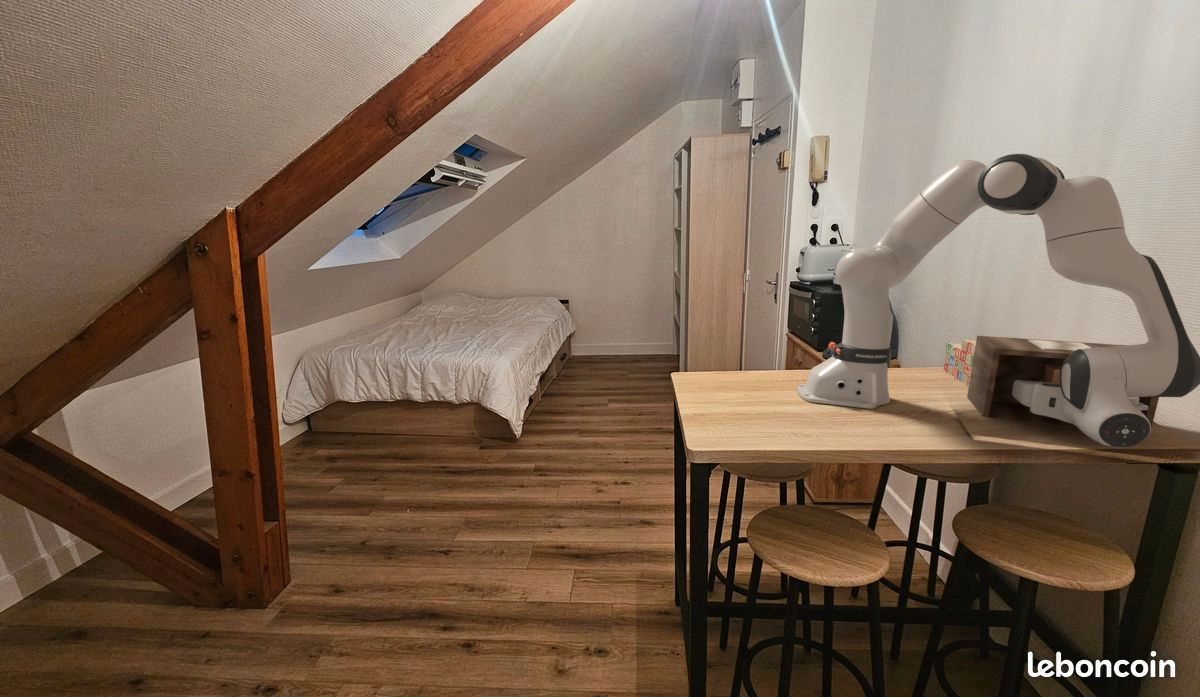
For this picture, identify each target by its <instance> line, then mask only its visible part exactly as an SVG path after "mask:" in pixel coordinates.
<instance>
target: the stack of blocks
mask: <svg viewBox="0 0 1200 697" xmlns="http://www.w3.org/2000/svg"><path fill="white" fill-rule="evenodd" d="M975 345H976V339H962V342H960V343H954V342H947V343H946V346H945V356H944V357H945V358H944V365H943V370H945V371H946V372H947V373H949V374H950V375H952V376H954V377H955V378H957V379H959V380H960V381H961V382H963V383H964V384H963V383H962V384H963V385H965V384H966V385H967V386H966V385H965V386H966V387H969V382H970V376H971V370H972V364H973V358H974V351H975ZM947 373H946V374H947ZM950 375H949V376H950ZM955 378H954V379H955ZM960 381H959V382H960ZM961 382H960V383H961Z"/></svg>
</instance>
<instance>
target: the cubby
mask: <svg viewBox="0 0 1200 697" xmlns="http://www.w3.org/2000/svg"><path fill="white" fill-rule="evenodd" d="M975 340H976V345H975V351H974V358H973V364H972V370H971V376H970V382H969V386H968V387H967V388H968V389H967V390H968V391H967V395H966V398H967V399H968V401H969V402H970V403H971V405H973V407H974V408H975V409H976V410H977V411H978V413H979V414H980V415H981V417H983V418H984V417H985V418H990V419H991V418H992V419H993V418H994V419H999V420H1000V419H1002V420H1008V421H1009V420H1010V421H1019V422H1027V423H1036V424H1037V423H1038V424H1045V425H1056V426H1064V427H1072V428H1078V427H1077V426H1075V425H1073V424H1072V423H1067V422H1065V421H1062V420H1059V419H1056V418H1051V417H1047V416H1042V415H1038V414H1034V413H1032V412H1031V411H1030V407H1027V406H1025V405H1023V404H1021V403H1020V402H1019V401H1018V400H1017V399H1015V398H1014V396H1013V395H1012V390H1013V384H1014V382H1015V381H1016V380H1024V381H1036V382H1038V381H1043V379H1044V374H1045V369H1046V364H1051V365H1062V364H1063V362H1064V361H1065V360H1066V359H1067V357H1068V356H1069V355H1070V354H1071V353H1073V352H1074V351H1075V350H1077V349H1086V348H1096V347H1108V346H1110V347H1114V346H1126V344H1112V343H1110V344H1109V343H1099V342H1098V343H1097V342H1095V343H1094V342H1083V341H1082V342H1081V341H1080V342H1079V341H1069V340H1068V341H1067V340H1049V339H1036V338H1035V339H1033V338H1023V337H1022V338H1019V337H1017V338H1016V337H1006V336H988V335H977V336H976V339H975ZM1159 400H1160V397H1152V396H1148V397H1139V403H1143V404H1145V405H1147V406H1148V409H1147V410H1142V411H1141V412H1142V413H1143V414H1144V415H1145V416H1146V418H1147V419H1148V420H1149V422H1150V424H1151V429H1152V428H1153V424H1154V418H1155V416H1156V412H1157V407H1158V404H1159ZM1150 435H1151V433H1150V434H1149V436H1150Z"/></svg>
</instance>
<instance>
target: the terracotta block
mask: <svg viewBox="0 0 1200 697" xmlns="http://www.w3.org/2000/svg"><path fill="white" fill-rule="evenodd" d="M1060 368H1061V365H1051V364H1046V369H1045V374H1044V379H1043V381H1047V382H1048V383H1059V384H1060V380H1059V375H1060Z"/></svg>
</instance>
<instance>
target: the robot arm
mask: <svg viewBox="0 0 1200 697" xmlns="http://www.w3.org/2000/svg"><path fill="white" fill-rule="evenodd" d="M986 206H988V207H989V208H992V209H994V210H998V211H1000V212H1003V213H1004V214H1009V215H1022V216H1031V215H1032V216H1034V215H1037V216H1038V217H1039V218H1040V220H1041V222H1042V225H1043V228H1044V229H1043V230H1044V237H1045V239H1044V240H1045V244H1046V246H1045V247H1046V253H1047V257H1048V261H1049V263H1050V266H1051V268H1052V270H1053V271H1055V273H1057V274H1059V276H1061V277H1063V278H1064V279H1067V280H1069V281H1072V282H1076V283H1080V284H1084V285H1090V286H1097V287H1103V288H1108V289H1111V290H1115V291H1119V292H1120V293H1123V294H1125V295H1126V296H1128V297H1129V298H1130V299H1131V300H1132V301H1133V303H1134V305H1135V308H1136V310H1137V313H1138V316H1139V319H1140V321H1141V323H1142V326H1143V328H1144V331H1145V334H1146V337H1147V342H1145V343H1140V344H1138V343H1137V344H1129V345H1126V344H1125V345H1126V346H1114V347H1110V346H1108V347H1096V348H1086V349H1077V350H1075V351H1074V352H1073V353H1071V354H1070V355H1069V356H1068V357H1067V359H1066V360H1065V361H1064V362H1063V364H1062V365H1061V368H1060V375H1059V380H1060V384H1059V383H1048V382H1047V381H1038V382H1036V381H1024V380H1016V381H1015V382H1014V384H1013V390H1012V395H1013V396H1014V398H1015V399H1017V400H1018V401H1019V402H1020V403H1021V404H1023V405H1025V406H1027V407H1030V411H1031V412H1032V413H1034V414H1038V415H1042V416H1047V417H1051V418H1056V419H1059V420H1062V421H1065V422H1067V423H1072V424H1073V425H1075V426H1077V427H1076V428H1078V430H1080V431H1081V432H1082V433H1083V434H1084V435H1086V436H1087V437H1089V439H1091V440H1093V441H1095V442H1097V443H1098V444H1100V445H1101V444H1102V445H1104V446H1107V447H1110V448H1116V449H1117V448H1119V449H1122V448H1130V447H1134V446H1136V445H1139V444H1140V443H1142V442H1144V441H1145V440H1146V439H1147V438H1148V437H1149V436H1150V435H1151V431H1152V428H1151V424H1150V422H1149V420H1148V419H1147V418H1146V416H1145V415H1144V414H1143V413H1142V412H1141V411H1142V410H1147V409H1148V406H1147V405H1145V404H1143V403H1139V397H1148V396H1152V397H1159V398H1183V397H1185V396H1186V395H1188V394H1190V393H1191V392H1193V391H1194V390H1195V389H1196V388H1198V386H1199V385H1200V354H1199V353H1198V351H1197V349H1196V348H1195V345H1194V344H1193V343H1192V341H1191V340H1190V338H1189V335H1188V334H1187V331H1186V329H1185V326H1184V323H1183V319H1182V318H1181V315H1180V313H1179V311H1178V308H1177V305H1176V303H1175V300H1174V298H1173V297H1174V296H1173V295H1172V292H1171V290H1170V288H1169V286H1168V285H1169V284H1167V281H1166V279H1165V277H1164V275H1163V272H1162V270H1161V269H1160V267H1159V265H1158V264H1157V262H1156V261H1155V260H1154V259H1153V258H1152V257H1151V256H1149V255H1145V254H1141V253H1140V252H1139V251H1138V250H1137V249H1135V248H1134V246H1133V245H1132V244H1131V242H1130V240H1129V239H1128V236H1127V233H1126V229H1125V223H1124V222H1125V221H1124V217H1123V216H1124V215H1123V212H1122V209H1121V206H1120V203H1119V200H1118V197H1117V195H1116V192H1115V189H1114V187H1113V185H1112V184H1111V182H1110V180H1107V179H1106V178H1104V177H1101V176H1095V175H1093V176H1092V175H1082V176H1078V177H1072V178H1068V179H1066V178H1065V175H1064V173H1063V172H1062V171H1061V169H1060V168H1059V167H1057V166H1055V165H1054V164H1053V163H1052V162H1050V161H1048V160H1047V159H1044V158H1042V157H1039V156H1038V157H1037V156H1033V155H1030V154H1027V153H1012V154H1007V155H1003V156H1001V157H998V158H996V159H995V160H993V161H992V162H990V163H989V164H987V165H986V164H984V163H982V162H980V161H977V160H973V159H964V160H960V161H958V162H955V164H953V165H952V166H950V167H949V168H947V169H946V170H945V171H943V172H941V174H940V175H938V176H937V177H936V178H934V179H933V180H932V181H931V183H929V184H928V185H927V186H925V188H923V190H921V191H920V192H919V193H918V194H917V195H916V196H915V197H914V198H913V199H912V200H911V201H910V202H909V203H908V204H907V205H905V207H904V208H903V209H902V210H901V211H899V213H898V214H897V215H896V216H895V217H894V218H893V220H892V221H891V224H890V226H889V227H888V229H887V230H886V232H885V233H884V234H883V235H882V237H881V238H880V239H879V240H878V241H877V242H876V243H875V244H874V245H872V246H871V247H860V248H856V249H854V250H852V251H850V252H848V253H847V254H846V255H843V257H842V258H841V259H840V260H839V261H838V263H837V265H836V269H835V278H836V281H837V283H838V284H839V286H840V287H841V292H842V302H843V307H844V308H843V310H844V313H843V314H844V316H843V329H842V339H841V342H839V343H838V344H837V343H836V342H833V341H830V342H829V343H828V346H827V347H828V348H829V349H830V351H832V356H831V357H829V358H828V359H825V360H824V361H822V362H821V363H819V364H818V365H815V366H813V367H812V368H811V369H810V370H809V373H808V376H807V378H806V383H800V384H799V385H798V386H797V389H796V391H797V392H796V393H797V394H798V396H799V397H800V398H801V399H803V400H805V401H807V402H810V403H814V404H815V403H816V404H827V405H835V406H841V407H842V406H843V407H853V408H862V409H871V410H872V409H873V410H874V409H876V408H878V406H883V405H887V404H889V403H890V402H891V397H890V393H889V381H888V380H889V378H888V372H889V368H890V363H891V359H892V346H891V338H892V332H893V324H894V314H893V313H892V311H891V306H890V305H891V304H890V294H889V292H890V289H892V288H895V287H897V286H898V285H900V284H901V283H902V282H903V281H905V280H906V279H907V277H908V276H909V275H910V273H912V272H913V270H914V269H915V268H916V267H918V266H919V264H920V263H921V262H922V261H923V259H924V258H925V257H926V256H927V255H928V254H929V253H930V252H931V251H932V250H933V249H934V248H935V247H936V246H937V245H938V244H940V242H942V241H943V240H945V238H946V237H947V236H948V235H950V234H951V233H952V232H953V231H954V230H955V229H956V228H958V227H959V225H961V224H962V223H963V222H964V221H965V220H967V219H968V218H969V217H970V216H972V215H973V213H975V212H976V211H978V210H979V209H981V208H983V207H986ZM1149 434H1150V435H1149Z"/></svg>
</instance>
